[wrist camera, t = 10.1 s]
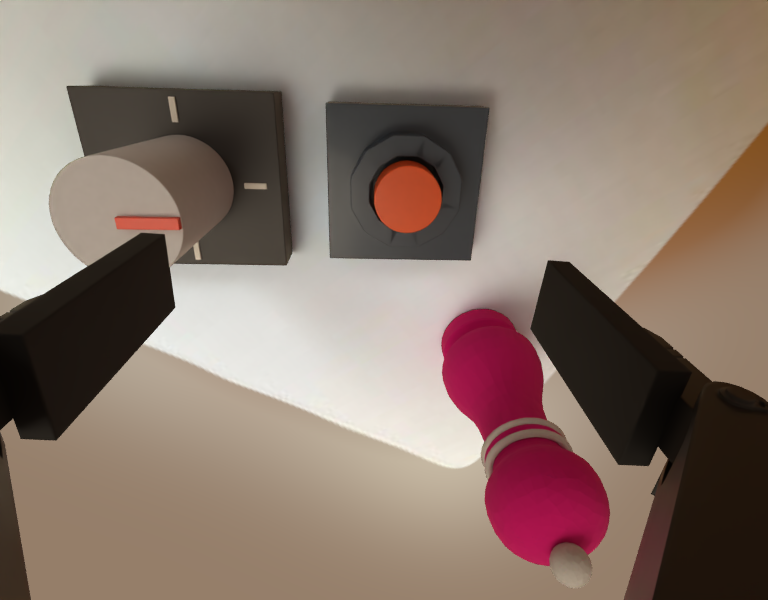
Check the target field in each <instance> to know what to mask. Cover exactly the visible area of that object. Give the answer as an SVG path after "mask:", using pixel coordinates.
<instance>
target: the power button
mask: <svg viewBox="0 0 768 600" xmlns="http://www.w3.org/2000/svg"><path fill="white" fill-rule="evenodd" d="M441 203H442V194H441V189H440V186H439V184H438V182H437V180H436V179H435V177H434V176H433V174H432V173H431V172H430V170H429V169H428V168H427V167H425V166H424V165H422V164H420V163H418V162H415V161H410V160H403V161H398V162H395V163H393V164H391V165H389V166H388V167H386V168H385V169H384V170H383V171H382V172H381V174H380V175H379V177H378V178H377V181H376V183H375V187H374V205H375V210H376V213H377V215H378V217H379V218H380V220H381V221H382V222H383V223H384V224H385V225H386V226H387V227H388V228H390V229H392V230H394V231H397V232H401V233H413V232H417V231H420V230H422V229H424V228H426V227H427V226H429V225H430V224H431V223H432V222H433V221H434V219H435V218H436V217H437V215H438V213H439V211H440V208H441Z"/></svg>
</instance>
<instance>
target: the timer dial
mask: <svg viewBox="0 0 768 600" xmlns="http://www.w3.org/2000/svg"><path fill="white" fill-rule="evenodd" d="M233 195H234V187H233V181H232V177H231V174H230V171H229V169H228V167H227V165H226V164H225V162H224V161H223V159H222V158H221V157H220V155H219V154H218V153H217V152H216V151H215V150H213V149H212V148H211V147H210V146H208V145H207V144H205V143H204V142H202V141H200V140H198V139H196V138H193V137H190V136H185V135H168V136H163V137H159V138H155V139H151V140H147V141H144V142H140V143H136V144H132V145H128V146H124V147H120V148H116V149H112V150H108V151H104V152H100V153H96V154H92V155H88V156H84V157H81V158H79V159H76V160H74V161H72V162H70V163H69V164H67V165H66V166H65V167H64V168H63V169H62V170H61V171H60V172H59V173H58V174H57V176H56V178H55V180H54V181H53V184H52V187H51V190H50V195H49V208H50V215H51V219H52V222H53V225H54V227H55V230H56V231H57V233H58V235H59V237H60V239H61V240H62V242H63V243H64V244H65V246H66V247H67V248H68V249H69V250H70V252H71V253H72V254H73V255H74V256H76V257H77V258H78V259H79V260H80V261H81V262H83V263H84V264H85V265H87V266H89V265H91V264H92V263H94V262H95V261H97V260H99V259H100V258H102V257H103V256H105V255H106V254H108V253H110V252H111V251H113V250H114V249H116V248H118V247H119V246H121V245H122V244H124V243H126V242H127V241H129V240H130V239H132V238H133V237H135V236H137V235H138V234H140V233H155V234H165V239H166V246H167V253H168V260H169V267H170V266H172V265H173V264H174V263H175V262H176V261H177V260H178V259H179V258H180V257H182V256H183V255H184V254H185V253H186V252H187V251H188V250H189V249H190V248H191V247H193V246H194V245H195V244H196V243H197V242H198V241H199V240H200V239H201V238H202V237H204V236H205V235H206V234H207V233H208V232H209V231H210V230H211V229H212V228H213V227H215V226H216V225H217V224H218V223H219V222H220V221H221V220H222V219H223V218H224V217H225V216H226V215H227V213H228V211H229V210H230V208H231V205H232V201H233Z"/></svg>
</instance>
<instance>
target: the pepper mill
mask: <svg viewBox="0 0 768 600" xmlns="http://www.w3.org/2000/svg"><path fill="white" fill-rule="evenodd" d="M441 346H442V352H443V356H444V362H443V368H442V375H443V381H444V384H445V387H446V390H447V392H448V395H449V397H450V398H451V400H452V401H453V403H454V404H455V405H456V407H457V408H458V409H459V410H460V411H461V412H462V413H463V414H465V415H466V416H467V417H468V418H470V419H471V420H472V421H473V422H474V423H475V424H476V426H477V427H478V429H479V431H480V433H481V435H482V438H483V440H484V444H483V446H482V451H481V459H482V463H483V466H484V467H485V473H486V477H487V479H488V482H487V486H486V489H485V505H486V510H487V515H488V517H489V520H490V522H491V524H492V527H493V529H494V531H495V533H496V535H497V536H498V537H499V539H500V540H501V541H502V543H503V544H504V545H505V546H506V547H507V548H508V549H509V550H510V551H512V552H513V553H514V554H515V555H517V556H519V557H521V558H523V559H525V560H527V561H529V562H532V563H535V564H538V565H545V566H550V567H551V571H552V573H553V574H554V576H555V578H556V579H557V580H558V581H559V582H560V583H562V584H563V585H565V586H567V587H570V588H580V587H583V586H585V585H586V584H587V583H588V582H589V580H590V578H591V576H592V564H591V561H590V558H589V557H588V554H590V553H591V552H592V551H593V550H594V549H595V548H596V547H597V546H598V545H599V544H600V542H601V541H602V539H603V538H604V536H605V534H606V531H607V528H608V524H609V516H610V509H609V502H608V498H607V494H606V491H605V489H604V487H603V484H602V482H601V480H600V478H599V476H598V475H597V473H596V472H595V471H594V470H593V468H592V467H591V466H590V464H589V463H588V462H587V461H585V460H584V459H583V458H581V457H580V456H578V455H576V454H575V453H573V451H572V448H571V446H570V445H569V443H568V442H567V440H566V437H565V435H564V433H563V432H562V430H561V429H560V428H559V427H558V426H556V425H555V424H554V423H552V422H550V421H547V419H546V416H545V413H544V410H543V405H542V392H543V382H544V379H543V371H542V366H541V362H540V359H539V357H538V355H537V352H536V350H535V348H534V347H533V345H532V344H531V342H530V341H529V340H528V339H527V338H526V337H524V336H523V335H522V334H520V333H518V332H517V331H516V329H515V327H514V326H513V324H512V323H511V321H510V320H509V319H508V318H507V317H506V316H504V315H503V314H501V313H499V312H496V311H494V310H489V309H477V310H471V311H469V312H466V313H463V314H461V315H460V316H458V317H457V318H455V319H454V320H453V321H452V322H451V323H450V324H449V325H448V327H447V328H446V330H445V332H444V334H443V337H442V345H441Z"/></svg>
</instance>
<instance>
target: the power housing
mask: <svg viewBox="0 0 768 600" xmlns="http://www.w3.org/2000/svg"><path fill="white" fill-rule="evenodd" d="M488 115H489V108H488V107H483V106H463V105H429V104H395V103H362V102H327V103H326V132H327V168H328V204H329V240H330V258H359V259H417V260H471V254H472V246H473V238H474V229H475V221H476V213H477V205H478V197H479V189H480V180H481V172H482V164H483V156H484V148H485V140H486V132H487V123H488ZM403 160H410V161H415V162H418V163H420V164H422V165H424V166H425V167H427V168H428V169H429V170H430V172H431V173H432V174H433V176H434V177H435V179H436V180H437V182H438V184H439V186H440V189H441V194H442V203H441V208H440V211H439V213H438V215H437V217H436V218H435V219H434V221H433V222H432V223H431V224H430V225H429V226H427V227H426V228H424V229H422V230H420V231H417V232H413V233H401V232H397V231H394V230H392V229H390V228H388V227H387V226H386V225H385V224H384V223H383V222H382V221H381V220H380V218H379V217H378V215H377V213H376V210H375V205H374V187H375V183H376V181H377V178H378V177H379V175H380V174H381V172H382V171H383V170H384V169H385V168H386V167H388V166H389V165H391V164H393V163H395V162H398V161H403Z"/></svg>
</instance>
